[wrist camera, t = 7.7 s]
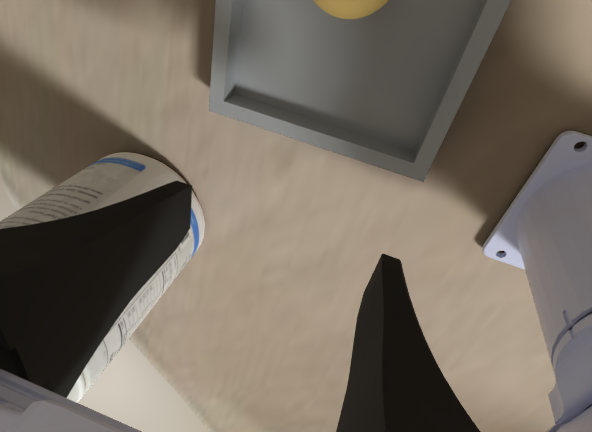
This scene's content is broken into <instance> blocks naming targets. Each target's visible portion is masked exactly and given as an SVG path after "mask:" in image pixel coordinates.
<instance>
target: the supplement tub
mask: <svg viewBox="0 0 592 432" xmlns="http://www.w3.org/2000/svg"><path fill="white" fill-rule="evenodd" d="M174 181H180V182H183V183H186V182H185V181H184V180H183V179H182V178H181V177H180V176H179V175H178V174H177V173H176V172H175V171H173V170H172V169H171V168H169V167H168V166H166V165H165V164H163V163H161V162H159V161H157V160H155V159H153V158H150V157H147V156H144V155H141V154H137V153H129V152H120V153H114V154H110V155H107V156H105V157H103V158H101V159H99V160H98V161H96V162H94V163H93V164H91V165H89V166H88V167H86V168H85V169H83V170H82V171H80V172H78V173H77V174H75V175H73V176H72V177H70V178H69V179H67V180H66V181H64V182H62V183H61V184H59V185H58V186H56V187H54V188H53V189H51V190H50V191H48V192H46V193H45V194H43V195H42V196H40V197H39V198H37V199H35V200H34V201H32V202H31V203H29V204H27V205H26V206H24V207H23V208H21V209H19V210H18V211H16V212H15V213H13V214H11V215H10V216H8V217H7V218H5V219H3V220H2V221H1V222H0V229H2V228H10V227H18V226H25V225H31V224H37V223H42V222H47V221H53V220H58V219H63V218H67V217H71V216H75V215H79V214H83V213H87V212H90V211H94V210H97V209H100V208H103V207H106V206H109V205H112V204H115V203H118V202H121V201H124V200H127V199H129V198H132V197H135V196H137V195H140V194H142V193H145V192H148V191H150V190H153V189H155V188H158V187H160V186H163V185H165V184H168V183H171V182H174ZM186 184H187V183H186ZM204 231H205V221H204V215H203V211H202V208H201V206H200V204H199V201H198V199H197V197H196V196H195V194H194V192H193V191H192V199H191V224H190V229H189V231H188V233H187V234H186V236H185V237H184V239H183V240H182V242H181V243H180V245H179V246H178V247H177V249H176V250H175V251H174V252H173V254H172V255H171V256H170V257H169V258H168V259H167V260H166V261H165V263H164V264H163V265H162V266H161V267H160V268H159V269H158V270H157V271H156V273H155V274H154V275H153V276H152V277H151V278H150V279H149V280H148V281H147V282H146V284H145V285H144V286H143V287H142V288H141V289H140V290H139V291H138V293H137V294H136V295H135V296H134V297H133V299H132V300H131V301H130V302H129V304H128V305H127V307H126V308H125V309H124V311H123V312H122V313H121V315H120V316H119V318H118V319H117V320H116V322H115V323H114V325H113V326H112V328H111V329H110V330H109V332H108V333H107V335H106V336H105V338H104V339H103V341H102V342H101V344H100V345H99V347H98V348H97V350H96V351H95V353H94V354H93V356H92V358H91V359H90V361H89V362H88V364H87V365H86V367H85V368H84V370H83V372H82V373H81V375H80V377H79V378H78V380H77V382H76V383H75V385H74V387H73V388H72V390H71V392H70V393H69V395H68V397H67V399H69V400H72V401H74V402H76V403H77V402H78V401H79V400H81V398H82V397H83V395H84V393H86V392H87V391H88V389H89V388H90V387H91V386H92V384H93V383H94V382H95V380H96V379H97V378H98V377H99V376H100V374H101V373H102V372H103V371H104V370H105V368H106V367H107V366H108V364H109V363H110V362H111V360H112V359H113V358H114V357H115V355H116V354H117V353H118V352H119V350H120V349H121V348H122V346H123V345H124V344H125V343H126V341H127V340H128V339H129V338H130V336H131V335H132V334H133V332H134V331H135V330H136V328H137V327H138V326H139V325H140V323H141V322H142V321H143V319H144V318H145V317H146V315H147V314H148V313H149V312H150V310H151V309H152V308H153V306H154V305H155V304H156V303H157V301H158V300H159V299H160V298H161V296H162V295H163V294H164V292H165V291H166V290H167V289H168V287H169V286H170V285H171V283H172V282H173V281H174V279H175V278H176V277H177V276H178V274H179V273H180V272H181V270H182V269H183V268H184V266H185V265H186V264H187V263H188V261H189V260H190V259H191V257H192V256H193V255H194V253H195V252H196V251H197V250H198V248H199V246H200V245H201V243H202V240H203V237H204Z"/></svg>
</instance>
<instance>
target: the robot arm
mask: <svg viewBox="0 0 592 432" xmlns="http://www.w3.org/2000/svg"><path fill="white" fill-rule="evenodd" d="M581 141H582V142H585V144H584V146H583V147H582V148H579V149H575V148H574V146H575V144H577V143H578V142H581ZM191 199H192V186H191V185H189V184H186V183H183V182H180V181H174V182H171V183H168V184H165V185H163V186H160V187H158V188H155V189H153V190H150V191H148V192H145V193H142V194H140V195H137V196H135V197H132V198H129V199H127V200H124V201H121V202H118V203H115V204H112V205H109V206H106V207H103V208H100V209H97V210H94V211H90V212H87V213H83V214H79V215H75V216H71V217H67V218H63V219H58V220H53V221H47V222H42V223H37V224H31V225H25V226H18V227H10V228H2V229H0V432H141V431H139V430H137V429H134V428H132V427H130V426H128V425H125V424H123V423H121V422H119V421H116V420H114V419H112V418H110V417H107V416H105V415H103V414H101V413H99V412H96V411H94V410H92V409H89V408H87V407H85V406H83V405H80V404H78V403H76V402H74V401H72V400H69V399H67V397H68V395H69V393H70V392H71V390H72V388H73V387H74V385H75V383H76V382H77V380H78V378H79V377H80V375H81V373H82V372H83V370H84V368H85V367H86V365H87V364H88V362H89V361H90V359H91V358H92V356H93V354H94V353H95V351H96V350H97V348H98V347H99V345H100V344H101V342H102V341H103V339H104V338H105V336H106V335H107V333H108V332H109V330H110V329H111V328H112V326H113V325H114V323H115V322H116V320H117V319H118V318H119V316H120V315H121V313H122V312H123V311H124V309H125V308H126V307H127V305H128V304H129V302H130V301H131V300H132V299H133V297H134V296H135V295H136V294H137V293H138V291H139V290H140V289H141V288H142V287H143V286H144V285H145V284H146V282H147V281H148V280H149V279H150V278H151V277H152V276H153V275H154V274H155V273H156V271H157V270H158V269H159V268H160V267H161V266H162V265H163V264H164V263H165V261H166V260H167V259H168V258H169V257H170V256H171V255H172V254H173V252H174V251H175V250H176V249H177V247H178V246H179V245H180V243H181V242H182V240H183V239H184V237H185V236H186V234H187V233H188V231H189V229H190V224H191ZM482 248H483V253H484V255H486V256H487V257H490V258H493V259H496V260H498V261H501V262H504V263H507V264H510V265H513V266H516V267H519V268H522V269H524V270H525V271H526V274H527V278H528V281H529V285H530V288H531V292H532V295H533V299H534V303H535V306H536V310H537V313H538V317H539V320H540V324H541V327H542V331H543V335H544V338H545V342H546V345H547V349H548V352H549V356H550V359H551V363H552V367H553V370H554V374H555V379H556V384H555V387H554V389H553V390H552V391H551V392H550V393H549V395H548V396H549V400H550V404H551V408H552V412H553V416H554V420H555V423H556V425H555V426H553V427H552V428H550V429H549V430H547V431H546V432H592V136H590V135H586V134H583V133H580V132H576V131H565V132H563V133H561V134H560V135H559V136H558V137H557V138H556V139H555V141H554V142H553V144H552V145H551V147H550V148H549V150H548V151H547V153H546V154H545V155H544V157H543V158H542V160H541V161H540V163H539V164H538V166H537V167H536V169H535V170H534V171H533V173H532V174H531V176H530V177H529V179H528V180H527V182H526V183H525V185H524V186H523V188H522V189H521V190H520V192H519V193H518V195H517V196H516V198H515V199H514V201H513V202H512V204H511V205H510V206H509V208H508V209H507V211H506V212H505V214H504V215H503V217H502V218H501V220H500V221H499V223H498V224H497V225H496V227H495V228H494V230H493V231H492V233H491V234H490V236H489V237H488V239H487V240H486V241H485V243H484V244H483V247H482ZM498 251H505V252H504V253H501V254H499V253H497V252H498ZM336 432H480V431H479V429H478V428H477V427H476V425H475V424H474V422H473V421H472V420H471V418H470V417H469V415H468V414H467V412H466V411H465V409H464V408H463V407H462V405H461V404H460V402H459V400H458V399H457V397H456V396H455V394H454V392H453V391H452V389H451V387H450V386H449V384H448V382H447V381H446V379H445V378H444V376H443V374H442V372H441V370H440V368H439V367H438V365H437V363H436V361H435V359H434V357H433V355H432V353H431V351H430V349H429V346H428V344H427V342H426V340H425V337H424V335H423V332H422V330H421V327H420V325H419V322H418V320H417V317H416V314H415V311H414V308H413V305H412V302H411V299H410V296H409V292H408V289H407V285H406V281H405V277H404V273H403V269H402V264H401V261H400V260H399V259H396V258H394V257H391V256H388V255H385V254H382V255H381V257H380V260H379V262H378V264H377V266H376V268H375V270H374V272H373V274H372V277H371V279H370V281H369V283H368V285H367V287H366V289H365V291H364V294H363V298H362V302H361V305H360V309H359V313H358V317H357V323H356V330H355V337H354V344H353V352H352V359H351V366H350V374H349V380H348V385H347V390H346V394H345V398H344V402H343V407H342V411H341V415H340V419H339V423H338V427H337V431H336Z"/></svg>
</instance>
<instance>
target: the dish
mask: <svg viewBox="0 0 592 432" xmlns="http://www.w3.org/2000/svg"><path fill="white" fill-rule="evenodd" d="M510 2H511V0H388V1H387V3H386V4H385V5H383V6H382V7H381V8H380V9H379V10H377V11H375V12H374V13H372V14H370V15H368V16H365V17H362V18H358V19H342V18H337V17H334V16H332V15H330V14H328V13H326V12H325V11H324V10H322V9H321V8H320V7H319V6H318V5H317V4H316V3H315V2H314V1H313V0H216V3H215V19H214V35H213V51H212V67H211V83H210V99H209V111H211V112H214V113H217V114H220V115H223V116H226V117H229V118H232V119H235V120H238V121H241V122H244V123H247V124H250V125H253V126H256V127H259V128H262V129H265V130H268V131H271V132H274V133H277V134H280V135H283V136H286V137H289V138H292V139H295V140H298V141H301V142H305V143H308V144H311V145H314V146H317V147H320V148H323V149H326V150H329V151H332V152H335V153H338V154H341V155H344V156H347V157H350V158H353V159H356V160H359V161H362V162H365V163H368V164H371V165H374V166H377V167H380V168H383V169H386V170H389V171H392V172H395V173H398V174H401V175H404V176H407V177H410V178H413V179H416V180H419V181H422V182H423V181H424V179H425V177H426V175H427V173H428V171H429V169H430V167H431V165H432V163H433V160H434V158H435V156H436V154H437V152H438V150H439V148H440V146H441V144H442V142H443V140H444V138H445V136H446V134H447V132H448V130H449V128H450V126H451V123H452V121H453V119H454V117H455V115H456V113H457V111H458V109H459V107H460V105H461V103H462V101H463V99H464V97H465V95H466V93H467V91H468V88H469V86H470V84H471V82H472V80H473V78H474V76H475V74H476V72H477V70H478V68H479V66H480V64H481V62H482V60H483V58H484V56H485V54H486V51H487V49H488V47H489V45H490V43H491V41H492V39H493V37H494V35H495V33H496V31H497V29H498V27H499V25H500V23H501V21H502V19H503V16H504V14H505V12H506V10H507V8H508V6H509V4H510Z"/></svg>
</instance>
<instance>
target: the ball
mask: <svg viewBox="0 0 592 432" xmlns="http://www.w3.org/2000/svg"><path fill="white" fill-rule="evenodd" d="M313 1H314V2H315V3H316V4H317V5H318V6H319V7H320V8H321V9H322V10H324V11H325V12H326V13H328V14H330V15H332V16H334V17H337V18H342V19H358V18H362V17H365V16H368V15H370V14H372V13H374V12H375V11H377V10H379V9H380V8H381V7H382V6H383V5H385V4H386V3H387V1H388V0H313Z"/></svg>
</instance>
